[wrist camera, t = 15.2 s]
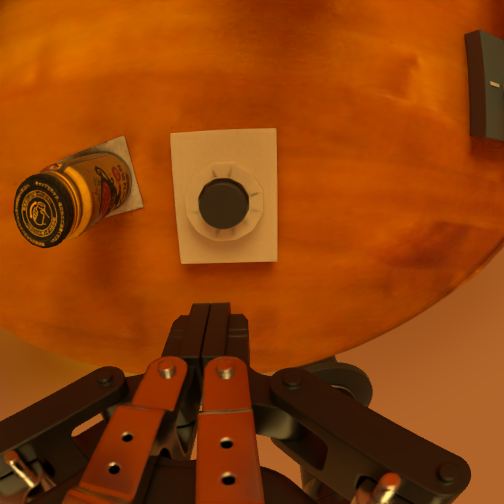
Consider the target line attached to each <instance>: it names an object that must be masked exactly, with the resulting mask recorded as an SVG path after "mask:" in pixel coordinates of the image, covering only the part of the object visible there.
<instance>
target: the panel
mask: <svg viewBox="0 0 504 504" xmlns="http://www.w3.org/2000/svg"><path fill="white" fill-rule="evenodd" d="M465 41H466V50H467V59H468V72H469V88H470V135H471V136H476V137H481V138H486V139H490V140H495V141H499V142H503V143H504V91H503V81H504V40H502V39H500V38H498V37H496V36H493V35H491V34H489V33H486V32H484V31H481V30H477V31H474V32H471V33H467V34H465Z"/></svg>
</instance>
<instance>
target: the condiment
mask: <svg viewBox="0 0 504 504" xmlns="http://www.w3.org/2000/svg"><path fill="white" fill-rule="evenodd" d="M141 207H144V206H143V202H142V199H141V196H140V192H139V188H138V184H137V181H136V177H135V173H134V170H133V166H132V163H131V159H130V155H129V152H128V149H127V145H126V141H125V136H121V137H118V138H115V139H113V140H110V141H107V142H105V143H102V144H99V145H97V146H94V147H92V148H89V149H86V150H84V151H81V152H79V153H76V154H74V155H72V156H69V157H67V158H65V159H62V160H60V161H58V162H56V163H54V164H52V165H49V166H47V167H46V168H44V169H43V170H41V171H40V173H38V174H36V175H32V176H30V177H29V178H26V180H25V181H24V182H22V183H21V185H20V186H19V187H18V189H17V191H16V195H15V200H14V216H15V220H16V223H17V226H18V228H19V230H20V232H21V234H22V235H23V236H24V237H25V238H26V239H27V240H28V241H29V242H30V243H31V244H33V245H36V246H38V247H41V248H49V247H53V246H56V245H58V244H59V243H61V242H62V241H64V240H70V239H73V238H76V237H78V236H80V235H81V234H82V233H83V232H84V231H86V230H87V229H88V228H90V227H92V226H93V225H94V224H96V223H98V222H99V221H101V220H102V219H103V218H106V217H109V216H112V215H116V214H119V213H123V212H126V211H130V210H133V209H137V208H141Z"/></svg>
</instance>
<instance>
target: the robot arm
mask: <svg viewBox="0 0 504 504" xmlns="http://www.w3.org/2000/svg"><path fill="white" fill-rule="evenodd" d="M200 405H202V411H199V409H200ZM99 413H101V415H102V417H103V419H104V420H102V421H100V422H99V423H97V424H96V425H94V426H92V427H91V428H89V429H87V430H86V431H84V432H82V433H81V434H79V435H77V436H74V437H72V436H71V434H72V431H73V429H75V428H76V427H77V426H79V425H81V424H82V423H84V422H86V421H88V420H89V419H91V418H92V417H94V416H96V415H97V414H99ZM197 430H198V434H197ZM196 434H197V459H196V460H190V459H191V455H192V450H193V446H194V442H195V438H196ZM256 434H258V435H263V436H268V437H270V438H271V440H272V442H273V443H274V444H275V445H276V446H277V447H278V448H280V449H281V450H282V451H283V452H285V453H286V454H287V455H288V456H289V457H291V458H292V459H293V460H294V461H296V462H297V463H298V464H299V465H300V472H301V480H302V487H303V490H302V489H301V488H299V487H298V486H297V485H296V484H295V483H294V482H292V481H291V480H290V479H289V478H287V477H286V476H284V475H282V474H280V473H279V472H277V471H274V470H271V469H269V468H266V467H262V466H260V463H259V456H258V449H257V440H256ZM470 479H471V471H470V468H469V465H468V464H467V462H466V461H465V460H464V459H462V458H461V457H459V456H457V455H455V454H453V453H451V452H449V451H447V450H445V449H443V448H441V447H439V446H437V445H435V444H434V443H432V442H430V441H428V440H426V439H424V438H422V437H420V436H418V435H416V434H414V433H413V432H411V431H409V430H407V429H405V428H403V427H401V426H400V425H398V424H396V423H394V422H392V421H390V420H389V419H387V418H385V417H383V416H382V415H380V414H378V413H376V412H374V411H373V410H371V409H369V408H368V407H366V406H364V405H362V404H361V403H359V402H357V401H356V400H355V396H354V394H353V392H352V390H351V389H349V388H348V387H346V386H344V385H341V384H334V383H330V384H327V383H326V382H324V381H322V380H321V379H319V378H317V377H316V376H314V375H313V374H311V373H309V372H308V371H306V370H303V369H300V368H285V369H282V370H279V371H277V372H276V373H275V374H273V375H272V376H266V375H262V374H259V373H257V372H255V371H254V370H253V369H252V368H251V367H250V348H249V331H248V320H247V319H246V318H245V316H244V315H243V314H231V308H230V302H226V303H212V304H211V303H193V305H192V308H191V311H190V314H189V315H181V316H180V317H179V318H178V319H176V320H175V321H174V322H173V325H172V328H171V332H170V333H169V336H168V339H167V342H166V344H165V347H164V350H163V353H162V356H161V358H158V359H156V360H154V361H153V362H152V363H151V364H150V365H149V366H148V368H147V370H146V372H145V373H144V374H141V375H136V376H130V377H125V375H124V373H123V371H122V370H121V369H119V368H117V367H112V366H108V367H102V368H99V369H97V370H95V371H93V372H91V373H89V374H88V375H86V376H84V377H82V378H81V379H79V380H77V381H75V382H73V383H71V384H69V385H68V386H66V387H64V388H62V389H61V390H59V391H57V392H55V393H53V394H51V395H49V396H48V397H46V398H44V399H42V400H40V401H38V402H36V403H34V404H33V405H31V406H29V407H27V408H25V409H23V410H21V411H20V412H18V413H16V414H14V415H12V416H10V417H8V418H6V419H4V420H2V421H1V422H0V504H452V502H454V500H455V499H456V498H457V497H458V496H459V495H460V494H461V493H462V492H463V491H464V490H465V489H466V487H467V486H468V484H469V482H470Z"/></svg>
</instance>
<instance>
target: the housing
mask: <svg viewBox="0 0 504 504" xmlns="http://www.w3.org/2000/svg"><path fill="white" fill-rule="evenodd" d="M170 141H171V158H172V173H173V186H174V198H175V210H176V220H177V230H178V240H179V249H180V258H181V264H191V263H234V262H272V261H278V221H277V134H276V128H257V129H227V130H209V131H194V132H182V133H171V134H170ZM219 181H228V182H232V183H234V184H236V185H237V186H238V187H240V189H241V190H242V191H243V193H244V195H245V199H246V209H245V214H244V216H243V218H242V220H241V221H240V222H239V223H238V224H237V225H235V226H234V227H232V228H229V229H217V228H214V227H212V226H210V225H208V224H207V223H206V222H205V221H204V219H203V218H202V216H201V214H200V209H199V204H200V199H201V197H202V195H203V194H204V192H205V191H206V190H207V188H208V187H209V186H211V185H212V184H214V183H216V182H219Z"/></svg>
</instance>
